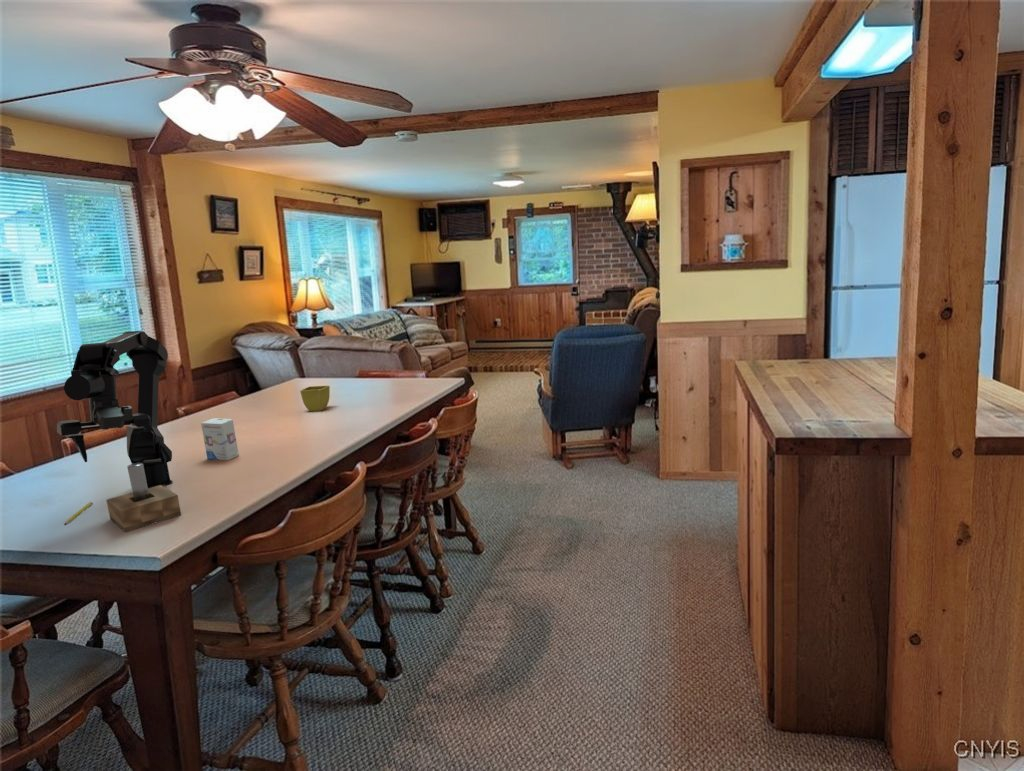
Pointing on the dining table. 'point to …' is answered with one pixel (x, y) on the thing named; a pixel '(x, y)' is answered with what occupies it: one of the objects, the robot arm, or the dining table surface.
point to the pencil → (78, 513)
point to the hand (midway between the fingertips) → (108, 458)
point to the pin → (138, 482)
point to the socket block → (143, 508)
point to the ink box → (220, 439)
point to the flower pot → (315, 397)
